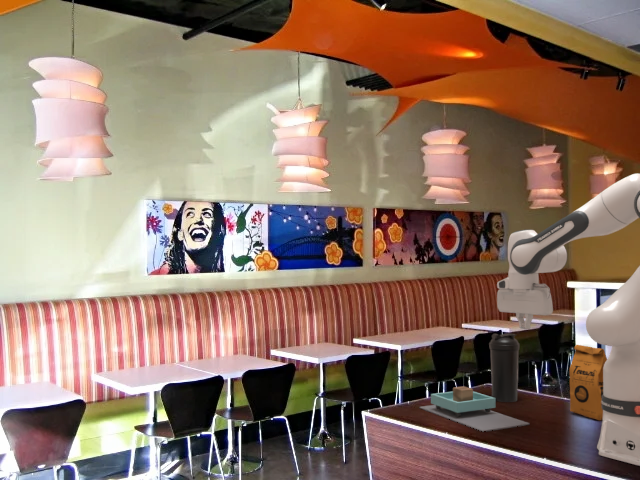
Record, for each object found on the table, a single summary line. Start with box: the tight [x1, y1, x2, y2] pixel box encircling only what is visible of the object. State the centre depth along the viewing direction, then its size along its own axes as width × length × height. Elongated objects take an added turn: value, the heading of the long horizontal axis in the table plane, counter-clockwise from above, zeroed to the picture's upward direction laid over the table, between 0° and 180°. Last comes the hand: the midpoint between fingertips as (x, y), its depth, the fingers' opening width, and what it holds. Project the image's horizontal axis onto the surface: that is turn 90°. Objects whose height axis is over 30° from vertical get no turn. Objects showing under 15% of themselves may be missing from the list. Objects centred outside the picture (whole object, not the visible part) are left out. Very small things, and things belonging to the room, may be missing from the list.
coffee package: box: [569, 344, 608, 421], centre depth 210 cm, size 10×12×22 cm
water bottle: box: [488, 332, 520, 403], centre depth 233 cm, size 10×10×23 cm
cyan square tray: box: [430, 390, 497, 416], centre depth 215 cm, size 14×15×5 cm
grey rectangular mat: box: [419, 404, 530, 433], centre depth 211 cm, size 32×18×1 cm, turn 26°
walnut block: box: [452, 386, 474, 402], centre depth 215 cm, size 4×4×4 cm
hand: (524, 328), depth 202 cm, fingers closed
